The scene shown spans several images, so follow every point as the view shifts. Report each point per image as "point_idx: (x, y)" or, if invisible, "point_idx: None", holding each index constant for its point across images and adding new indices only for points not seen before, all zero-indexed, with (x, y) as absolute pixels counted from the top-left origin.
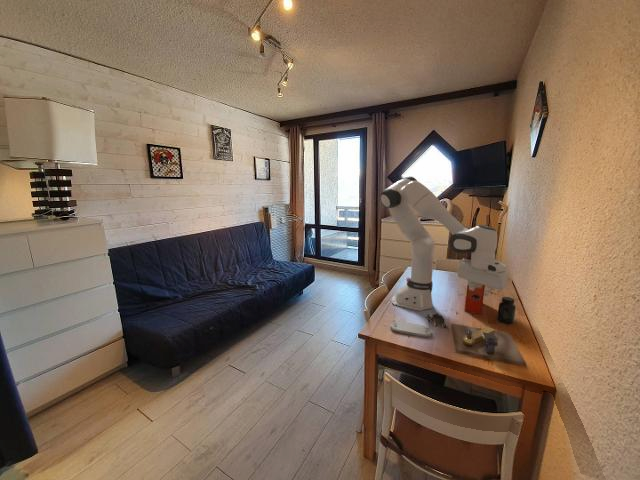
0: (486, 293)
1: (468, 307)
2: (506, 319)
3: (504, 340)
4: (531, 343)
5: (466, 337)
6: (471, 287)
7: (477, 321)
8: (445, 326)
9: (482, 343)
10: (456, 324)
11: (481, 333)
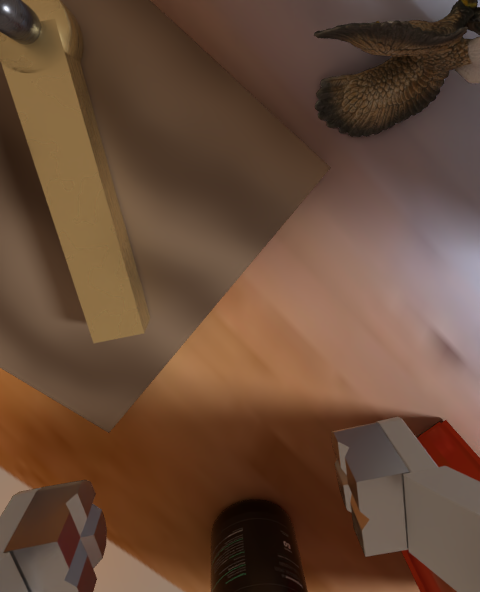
0: (16, 521)
1: (442, 451)
2: (224, 532)
3: (38, 334)
4: (21, 464)
5: (36, 10)
6: (374, 466)
7: (309, 389)
8: (335, 109)
9: (32, 159)
10: (307, 192)
11: (67, 199)
